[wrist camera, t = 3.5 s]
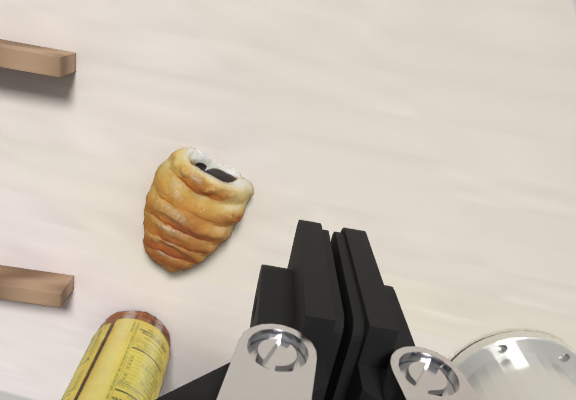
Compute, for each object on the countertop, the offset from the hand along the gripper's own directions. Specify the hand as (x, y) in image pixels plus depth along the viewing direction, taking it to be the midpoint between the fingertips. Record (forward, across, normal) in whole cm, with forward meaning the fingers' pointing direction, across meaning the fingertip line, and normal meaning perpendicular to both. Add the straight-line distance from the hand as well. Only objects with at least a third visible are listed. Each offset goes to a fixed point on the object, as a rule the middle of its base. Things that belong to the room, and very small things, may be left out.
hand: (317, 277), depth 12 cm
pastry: (+23, +6, +9) cm, 25 cm away
